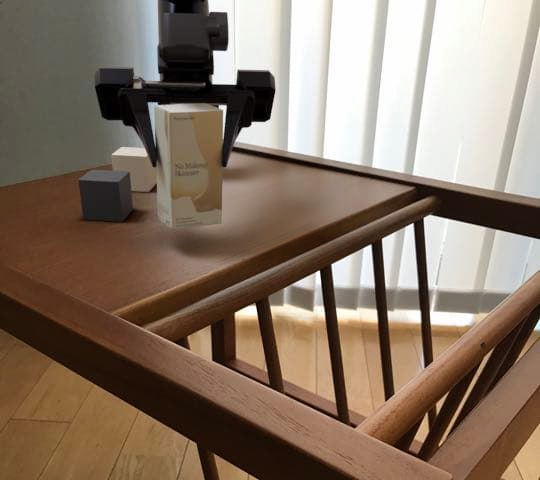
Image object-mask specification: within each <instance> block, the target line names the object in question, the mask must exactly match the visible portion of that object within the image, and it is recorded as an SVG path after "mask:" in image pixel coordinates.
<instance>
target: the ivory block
mask: <svg viewBox="0 0 540 480" xmlns="http://www.w3.org/2000/svg"><path fill="white" fill-rule="evenodd" d="M110 156H111V164H112V165H111V167H112V171H127V172H130V181H131V192H139V193H140V192H141V193H150V192H151V190H152V189H153V188H154V187H155V186H156V185H157V176H156V167H153V166H152V164H151V162H150V159H149V157H148V154H147V152H146V150H145V147H131V146H121V147H119V148H118V149H117V150H115V151H114V152H113V153H112V154H111V155H110Z"/></svg>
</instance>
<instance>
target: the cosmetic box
mask: <svg viewBox="0 0 540 480" xmlns="http://www.w3.org/2000/svg"><path fill="white" fill-rule="evenodd" d="M153 116H154V142H155V148H156V157H157V167H156V176H157V183H156V196H157V197H156V199H157V201H156V203H157V219H158V220H159V221H160V222H162V223H163V224H164V225H165V226H167V227H168V228H169V229H171V230H173V231H178V230H183V229H190V228H198V227H204V226H205V227H206V226H212V225H219V224H222V222H223V168H224V167H223V166H222V149H223V138H224V110H223V109H221V108H220V107H219V108H217V107H214V106H212V105H209V104H206V103H200V104H173V105H158V104H154V105H153Z"/></svg>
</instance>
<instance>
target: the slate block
mask: <svg viewBox="0 0 540 480" xmlns="http://www.w3.org/2000/svg"><path fill="white" fill-rule="evenodd" d="M78 188H79V196H80V204H81V205H80V206H81V212H82V214H81V215H82V220H83V221H85V220H87V221H104V222H120V223H122V222H123V221H124V220H125V219H126V218H127V217H128V216H130V213H132V211H133V210H134V207H133V196H132V195H133V194H132V191H131V181H130V172H127V171H113V170H109V169H107V170H106V169H90V170H89V171H88V172H86V173H85V174H84V175H83V176H81V177H80V178H79V179H78Z"/></svg>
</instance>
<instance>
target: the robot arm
mask: <svg viewBox="0 0 540 480" xmlns="http://www.w3.org/2000/svg"><path fill="white" fill-rule="evenodd" d="M228 17H229V16H228V12H227V11H210V5H209V0H157V30H158V31H157V32H158V34H157V35H158V36H157V37H158V44H157V47H156V52H157V53H156V54H157V55H156V56H157V73H158V74H159V80H145V79H144V78H143V77H141V76H137V75H135V70H134V69H135V68H134V67H133V66H100V67H99V68H98V69H97V70H96V71H95V72H94V89H95V94H96V98H97V103H98V106H99V111H100V116H101V118H102V119H104V120H106V121H121V122H122V124H123V125H124V126H125V127H132V128H133V130H134V132H135V133H136V134H137V135H136V136H138V138H139V139H140V141H141V143H142V145H143V148H145V150H146V152H147V154H148V157H149V159H150V162H151V164H152V166H153V167H157V157H156V147H155V135H154V132H153V126H152V120H151V119H152V118H151V114H150V108H149V103H152V104H153V103H157V105H173V104H200V103H206V104H209V105H212V106H214V107H217V108H219V109H220V106H225V107H226V109H225V120H224V127H223V149H222V166H223V167H222V168H227V166H228V163H229V161H230V157H231V154H232V152H233V148H234V145H235V143H236V140H237V139H238V137H239V135H240V134H241V131H242V130H243V129H246V128H250V127H251V126H252V124H253V123H266V122H268V121H270V120H271V118H272V111H273V106H274V102H275V95H276V91H277V90H276V89H277V88H276V80H275V79H276V77H275V76H274V74H273V73H272V72H271V71H270V70H269V69H236V70H237V71H236V79H235V80H236V82H235V84H225V83H224V84H223V83H221V84H219V83H214V82H213V76H214V74H215V62H214V61H215V59H214V52H227V51H228V48H229V40H230V39H229V38H230V36H229V18H228Z"/></svg>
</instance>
